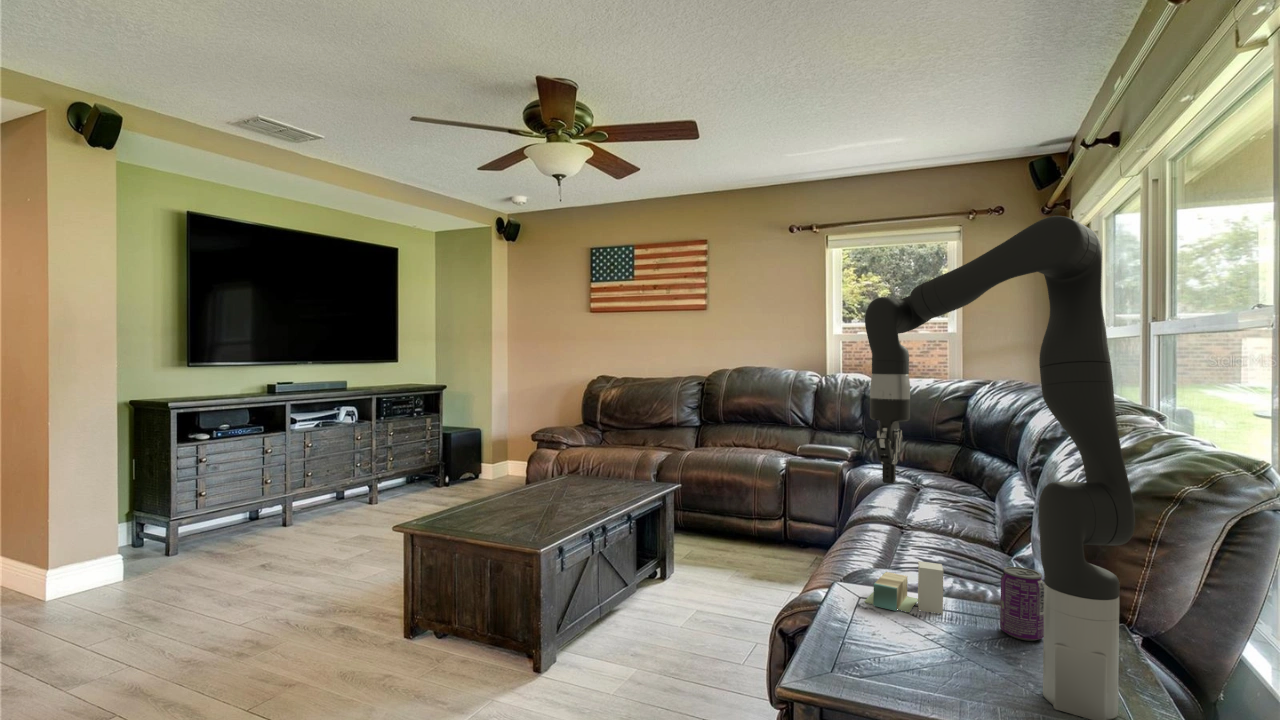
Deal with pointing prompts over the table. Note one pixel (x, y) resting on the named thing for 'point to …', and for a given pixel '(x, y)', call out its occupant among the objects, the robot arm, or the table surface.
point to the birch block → (890, 591)
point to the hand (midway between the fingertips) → (888, 482)
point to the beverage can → (1022, 603)
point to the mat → (905, 606)
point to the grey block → (930, 587)
